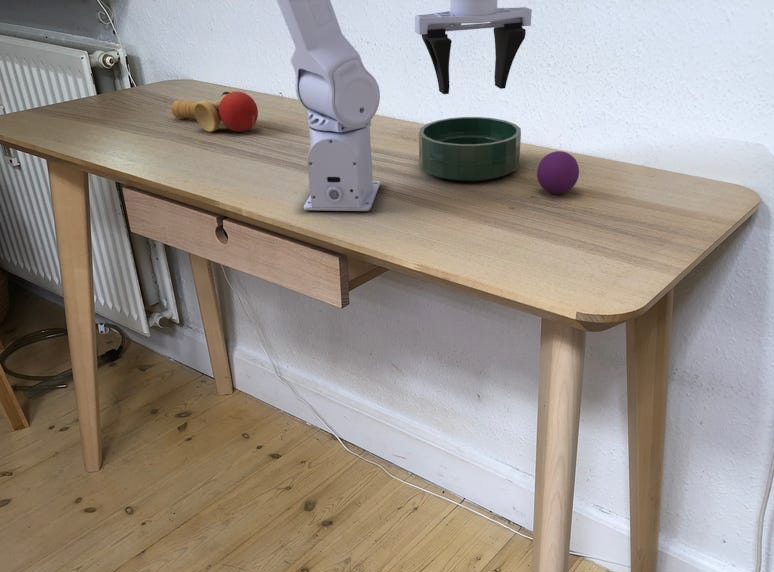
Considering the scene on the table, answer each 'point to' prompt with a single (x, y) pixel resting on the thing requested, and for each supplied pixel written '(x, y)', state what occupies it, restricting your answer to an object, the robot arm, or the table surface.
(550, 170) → the ball
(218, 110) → the kendama
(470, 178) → the bowl
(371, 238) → the table surface
